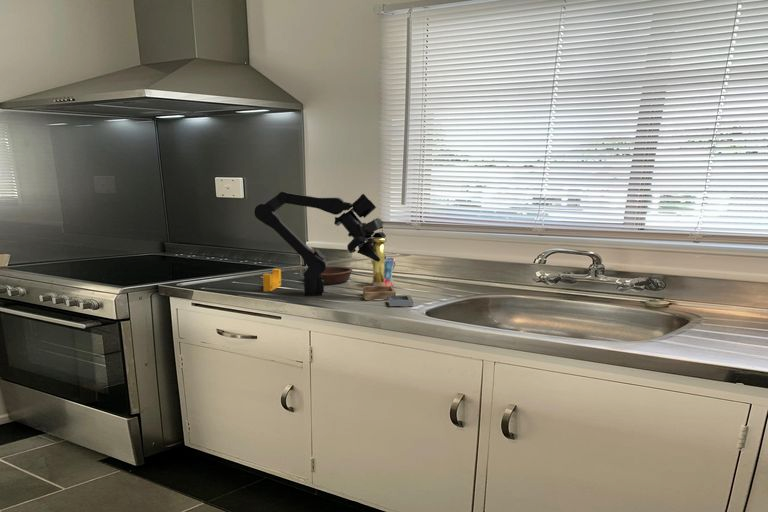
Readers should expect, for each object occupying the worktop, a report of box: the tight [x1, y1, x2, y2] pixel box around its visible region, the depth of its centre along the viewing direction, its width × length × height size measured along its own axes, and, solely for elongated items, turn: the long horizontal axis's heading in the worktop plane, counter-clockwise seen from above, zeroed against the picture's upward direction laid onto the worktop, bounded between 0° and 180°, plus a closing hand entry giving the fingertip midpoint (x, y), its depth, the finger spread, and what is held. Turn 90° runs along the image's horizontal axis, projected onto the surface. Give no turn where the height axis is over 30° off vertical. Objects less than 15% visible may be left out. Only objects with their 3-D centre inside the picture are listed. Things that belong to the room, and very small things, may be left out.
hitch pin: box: [371, 237, 387, 283], centre depth 178 cm, size 5×5×15 cm
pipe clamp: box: [262, 268, 282, 292], centre depth 195 cm, size 12×4×6 cm, turn 172°
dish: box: [320, 266, 353, 285], centre depth 207 cm, size 18×22×5 cm
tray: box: [362, 285, 397, 301], centre depth 180 cm, size 10×10×3 cm
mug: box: [370, 256, 396, 287], centre depth 198 cm, size 12×9×11 cm
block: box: [386, 294, 414, 307], centre depth 169 cm, size 8×8×2 cm
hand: (382, 260), depth 177 cm, fingers closed on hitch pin, 4 cm apart
